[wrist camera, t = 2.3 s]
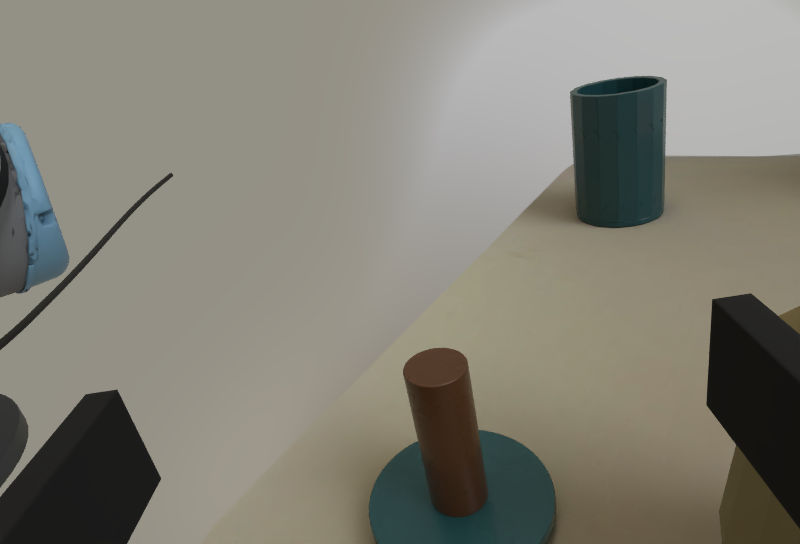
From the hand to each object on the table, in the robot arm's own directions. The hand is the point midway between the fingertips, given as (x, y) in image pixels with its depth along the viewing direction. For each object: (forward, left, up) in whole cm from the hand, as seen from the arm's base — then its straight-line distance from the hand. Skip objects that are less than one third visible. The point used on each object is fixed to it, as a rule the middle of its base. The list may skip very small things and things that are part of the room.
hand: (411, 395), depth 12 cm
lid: (-9, +3, -14) cm, 17 cm away
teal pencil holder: (-38, +30, -15) cm, 51 cm away
